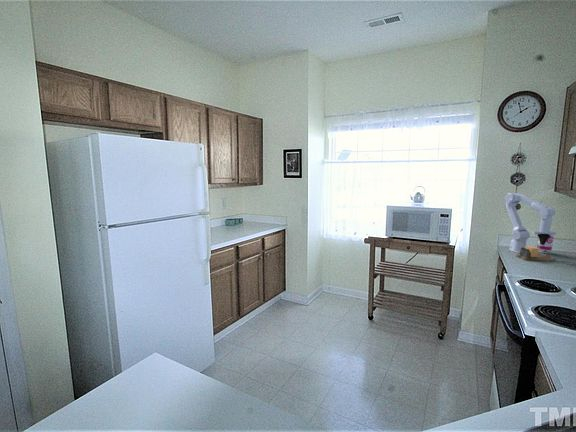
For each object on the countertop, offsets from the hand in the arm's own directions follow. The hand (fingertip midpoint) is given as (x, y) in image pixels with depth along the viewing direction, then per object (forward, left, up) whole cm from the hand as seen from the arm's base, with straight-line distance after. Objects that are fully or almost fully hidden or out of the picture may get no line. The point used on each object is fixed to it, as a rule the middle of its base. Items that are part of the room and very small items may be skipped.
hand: (542, 244), depth 213 cm
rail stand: (+3, -6, -9) cm, 11 cm away
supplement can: (-14, +13, -10) cm, 21 cm away
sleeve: (+3, -8, -7) cm, 12 cm away
